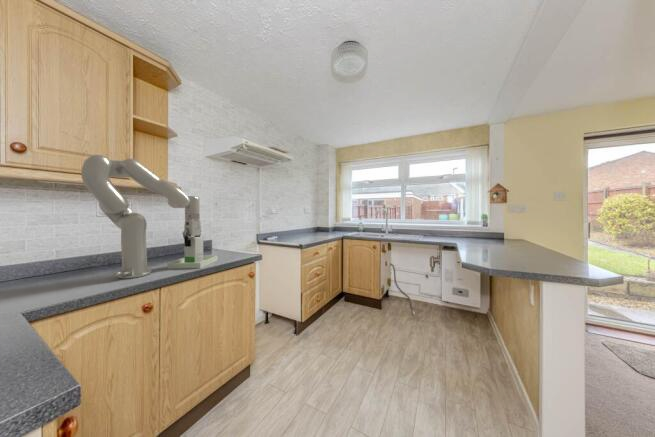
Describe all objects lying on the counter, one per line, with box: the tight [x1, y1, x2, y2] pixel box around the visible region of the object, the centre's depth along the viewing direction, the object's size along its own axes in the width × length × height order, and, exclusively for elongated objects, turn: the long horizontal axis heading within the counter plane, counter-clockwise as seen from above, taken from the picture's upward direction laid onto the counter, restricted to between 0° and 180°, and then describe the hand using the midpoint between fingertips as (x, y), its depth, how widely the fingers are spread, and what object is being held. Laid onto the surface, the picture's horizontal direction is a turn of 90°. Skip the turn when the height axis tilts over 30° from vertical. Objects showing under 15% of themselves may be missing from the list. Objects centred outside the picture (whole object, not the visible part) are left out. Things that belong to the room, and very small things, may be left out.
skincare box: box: [183, 236, 204, 263], centre depth 136 cm, size 8×7×16 cm
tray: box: [166, 255, 219, 270], centre depth 136 cm, size 20×18×3 cm
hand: (192, 245), depth 135 cm, fingers open, 9 cm apart
